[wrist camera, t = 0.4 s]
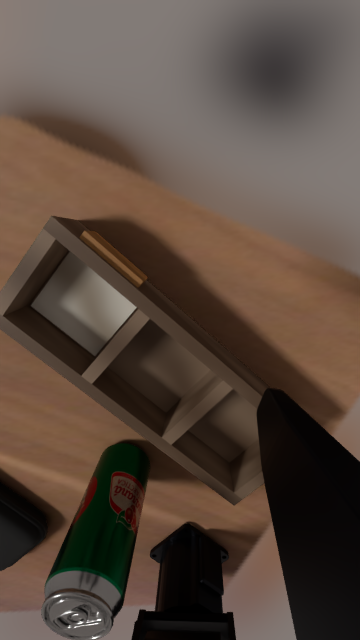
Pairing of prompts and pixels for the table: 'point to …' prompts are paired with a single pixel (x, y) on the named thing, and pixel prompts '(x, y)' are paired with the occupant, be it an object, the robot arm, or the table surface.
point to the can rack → (136, 355)
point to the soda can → (98, 548)
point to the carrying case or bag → (18, 527)
